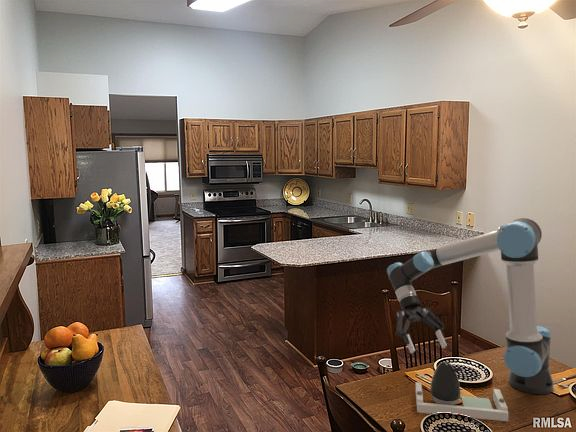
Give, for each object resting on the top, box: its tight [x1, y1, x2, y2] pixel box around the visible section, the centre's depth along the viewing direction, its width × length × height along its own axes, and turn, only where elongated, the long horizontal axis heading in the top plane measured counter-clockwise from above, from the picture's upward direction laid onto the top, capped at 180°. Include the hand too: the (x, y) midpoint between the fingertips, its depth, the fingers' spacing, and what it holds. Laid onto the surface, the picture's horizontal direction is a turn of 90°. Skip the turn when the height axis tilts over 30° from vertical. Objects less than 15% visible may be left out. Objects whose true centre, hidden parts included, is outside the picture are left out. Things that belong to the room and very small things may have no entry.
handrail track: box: [415, 381, 510, 422], centre depth 162 cm, size 29×14×5 cm, turn 77°
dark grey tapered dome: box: [429, 361, 462, 406], centre depth 163 cm, size 10×10×15 cm
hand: (429, 349), depth 172 cm, fingers open, 13 cm apart
